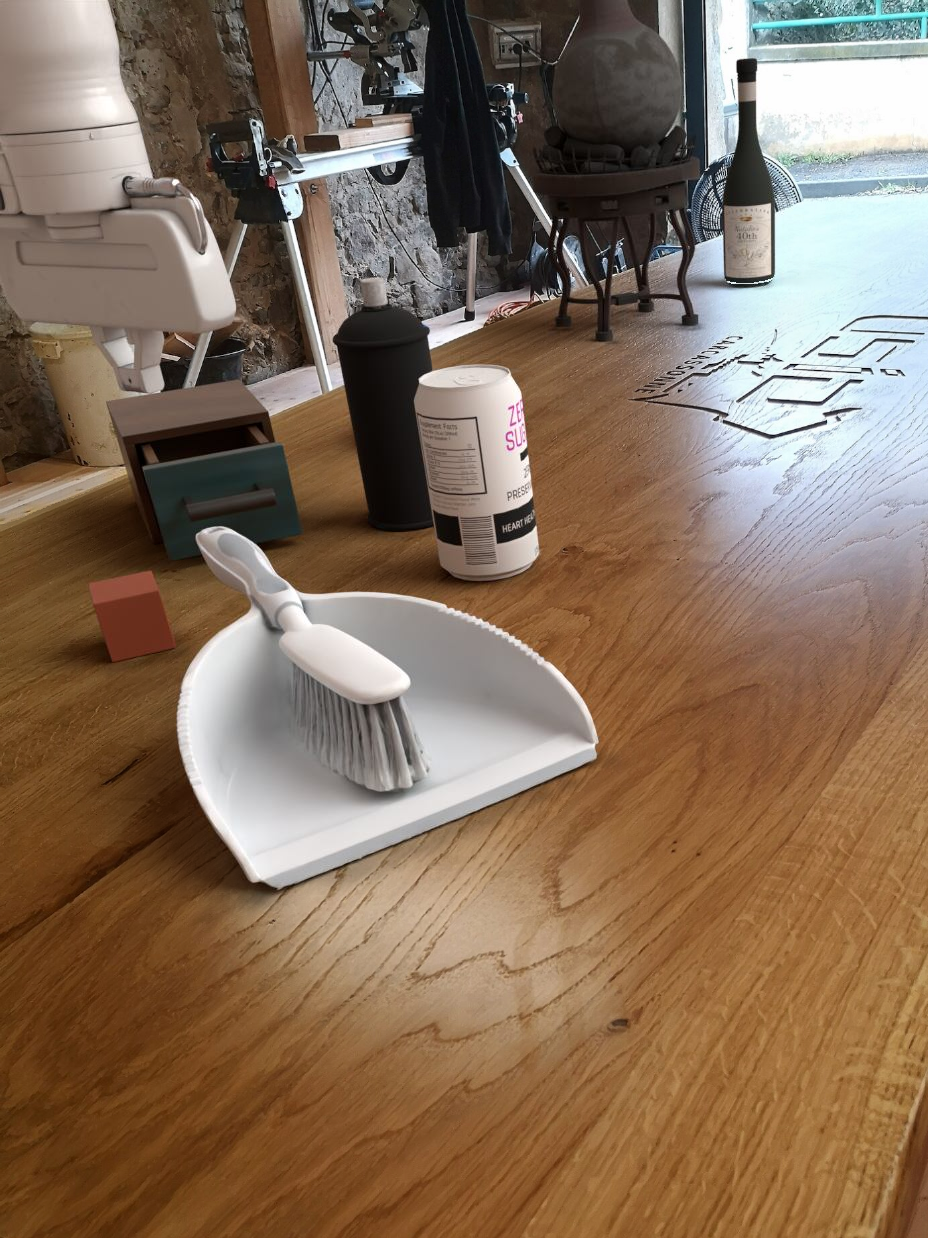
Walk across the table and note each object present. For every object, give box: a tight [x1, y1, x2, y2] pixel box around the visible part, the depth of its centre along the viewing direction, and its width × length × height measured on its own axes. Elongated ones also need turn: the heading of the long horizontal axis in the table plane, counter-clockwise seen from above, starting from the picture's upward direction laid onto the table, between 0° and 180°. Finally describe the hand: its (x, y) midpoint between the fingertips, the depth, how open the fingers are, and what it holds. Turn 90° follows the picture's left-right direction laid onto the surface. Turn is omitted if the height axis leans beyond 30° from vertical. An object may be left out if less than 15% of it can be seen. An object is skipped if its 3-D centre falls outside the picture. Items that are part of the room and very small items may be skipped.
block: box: [87, 570, 177, 663], centre depth 92 cm, size 5×5×5 cm
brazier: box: [531, 0, 701, 342], centre depth 165 cm, size 22×22×45 cm
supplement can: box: [414, 363, 540, 582], centre depth 98 cm, size 8×8×15 cm
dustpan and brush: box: [176, 526, 600, 891], centre depth 79 cm, size 23×33×10 cm
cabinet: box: [105, 379, 276, 545], centre depth 117 cm, size 15×13×10 cm
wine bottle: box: [721, 57, 776, 288], centre depth 188 cm, size 8×8×30 cm
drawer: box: [138, 423, 303, 562], centre depth 109 cm, size 18×11×8 cm, turn 25°
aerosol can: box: [332, 276, 434, 532], centre depth 108 cm, size 8×8×20 cm
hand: (143, 390), depth 91 cm, fingers closed
